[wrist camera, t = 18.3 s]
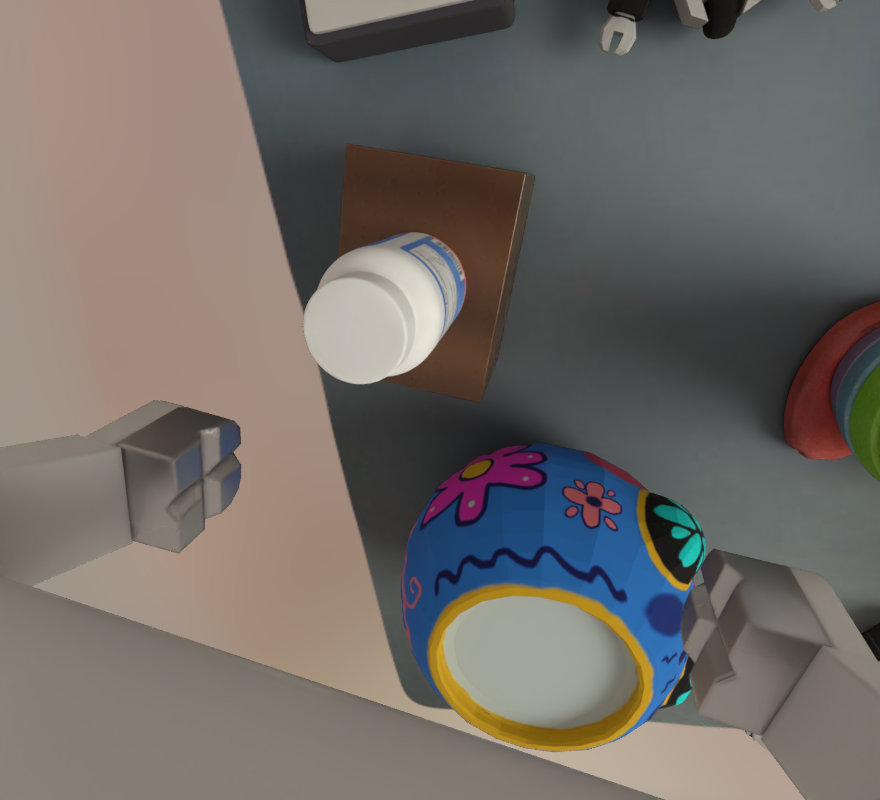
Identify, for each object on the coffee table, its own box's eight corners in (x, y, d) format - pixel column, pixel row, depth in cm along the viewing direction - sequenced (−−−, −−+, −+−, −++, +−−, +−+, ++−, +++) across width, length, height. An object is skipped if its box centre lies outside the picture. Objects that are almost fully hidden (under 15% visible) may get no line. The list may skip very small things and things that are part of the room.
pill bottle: (367, 326, 29) (281, 388, 21) (370, 225, 27) (277, 246, 18) (463, 342, 28) (417, 413, 20) (475, 238, 26) (429, 266, 18)
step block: (393, 151, 33) (345, 143, 26) (535, 175, 32) (526, 173, 25) (375, 333, 38) (329, 369, 31) (497, 360, 37) (480, 403, 30)
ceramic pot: (668, 608, 41) (718, 815, 28) (447, 595, 46) (397, 770, 32) (675, 400, 35) (744, 537, 22) (419, 409, 40) (342, 527, 26)
